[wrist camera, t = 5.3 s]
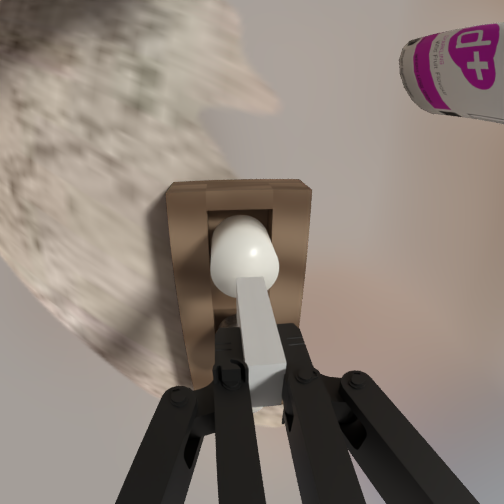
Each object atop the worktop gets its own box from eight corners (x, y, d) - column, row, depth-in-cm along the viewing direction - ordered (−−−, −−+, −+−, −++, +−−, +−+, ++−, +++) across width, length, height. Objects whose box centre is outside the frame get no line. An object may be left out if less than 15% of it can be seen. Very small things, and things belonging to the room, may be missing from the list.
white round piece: (210, 215, 22) (208, 239, 18) (269, 213, 22) (280, 236, 18) (213, 268, 24) (212, 300, 20) (267, 265, 24) (277, 297, 20)
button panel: (173, 182, 25) (165, 193, 21) (299, 179, 26) (312, 189, 22) (199, 385, 36) (198, 409, 32) (282, 380, 37) (287, 403, 33)
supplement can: (386, 88, 22) (511, 88, 9) (405, 25, 19) (517, -3, 6) (443, 127, 24) (557, 156, 11) (459, 66, 21) (567, 71, 8)
